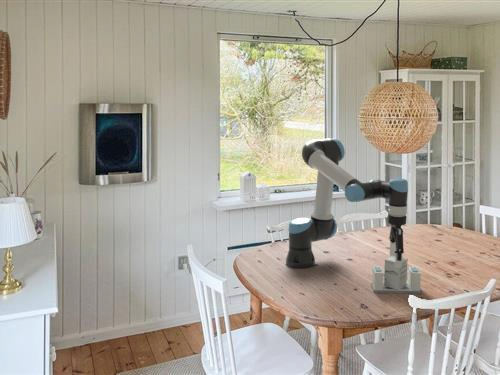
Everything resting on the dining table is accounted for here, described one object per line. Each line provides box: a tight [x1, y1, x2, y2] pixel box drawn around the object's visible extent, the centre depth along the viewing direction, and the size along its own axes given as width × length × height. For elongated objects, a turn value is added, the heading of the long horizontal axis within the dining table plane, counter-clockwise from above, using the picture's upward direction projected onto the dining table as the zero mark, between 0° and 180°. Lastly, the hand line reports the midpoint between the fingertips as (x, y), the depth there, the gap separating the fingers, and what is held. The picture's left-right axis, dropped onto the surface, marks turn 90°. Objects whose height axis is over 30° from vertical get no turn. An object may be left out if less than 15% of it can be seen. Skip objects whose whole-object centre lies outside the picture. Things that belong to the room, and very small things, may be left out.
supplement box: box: [383, 256, 408, 290], centre depth 206 cm, size 7×7×13 cm
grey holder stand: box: [370, 265, 423, 295], centre depth 206 cm, size 20×9×9 cm, turn 83°
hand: (395, 261), depth 205 cm, fingers open, 13 cm apart
